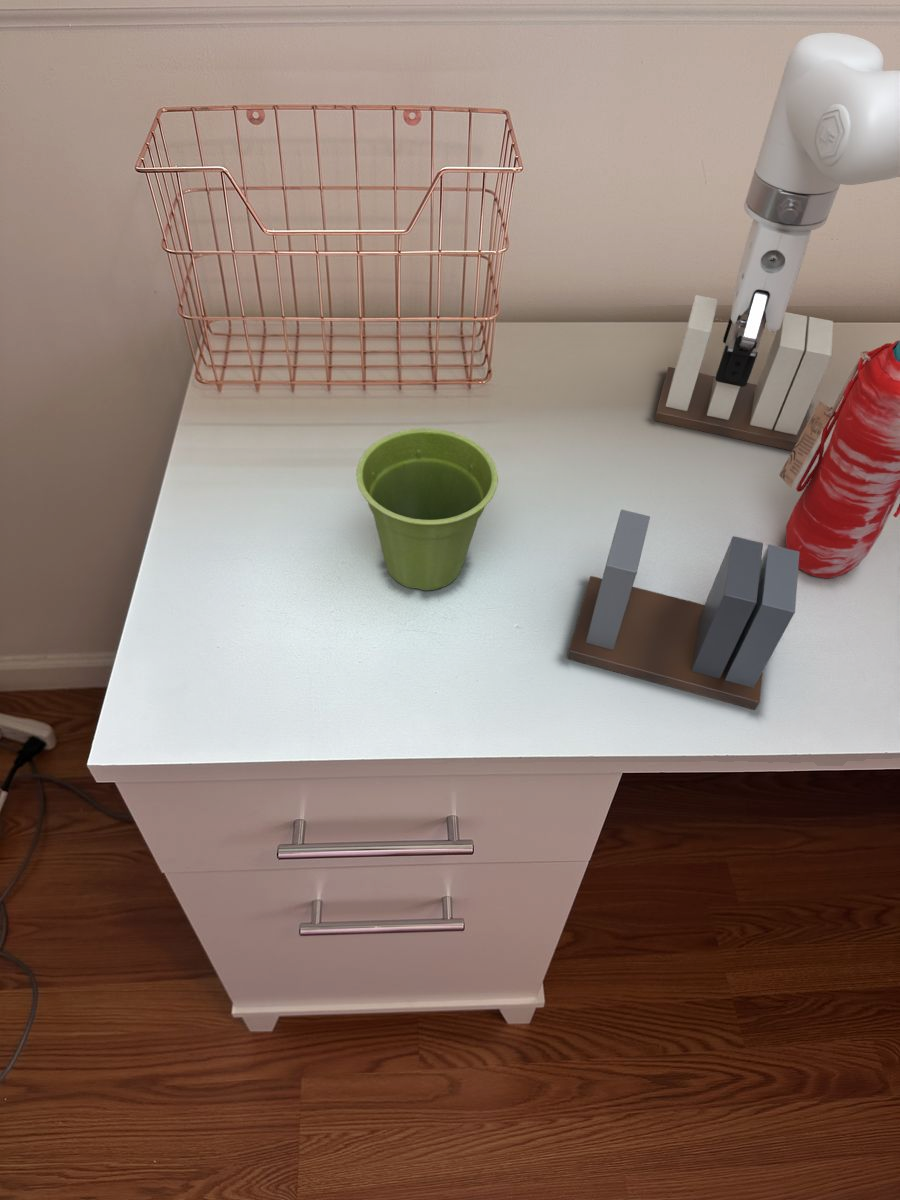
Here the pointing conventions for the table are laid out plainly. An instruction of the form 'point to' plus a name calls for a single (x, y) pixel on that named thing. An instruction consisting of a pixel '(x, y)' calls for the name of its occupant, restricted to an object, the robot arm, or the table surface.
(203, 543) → the table surface
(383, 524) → the plant pot
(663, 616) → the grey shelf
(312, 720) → the table surface
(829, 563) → the water bottle
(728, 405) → the beige box
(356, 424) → the table surface
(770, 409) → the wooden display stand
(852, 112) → the robot arm
